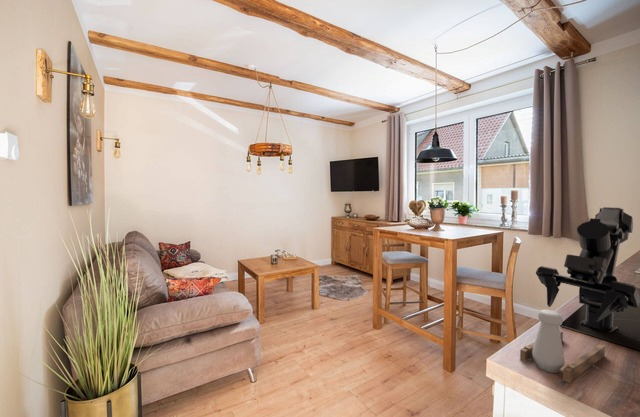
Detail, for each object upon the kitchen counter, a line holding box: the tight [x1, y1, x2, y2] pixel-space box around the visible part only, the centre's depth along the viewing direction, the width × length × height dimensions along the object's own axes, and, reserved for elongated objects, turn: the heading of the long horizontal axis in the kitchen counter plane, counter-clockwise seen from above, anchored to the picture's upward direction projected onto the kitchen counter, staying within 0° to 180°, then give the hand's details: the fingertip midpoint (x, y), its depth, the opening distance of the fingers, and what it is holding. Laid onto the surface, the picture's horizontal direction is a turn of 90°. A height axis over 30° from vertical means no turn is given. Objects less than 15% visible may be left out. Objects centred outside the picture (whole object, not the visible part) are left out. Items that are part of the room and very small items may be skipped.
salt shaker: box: [532, 309, 566, 374], centre depth 63 cm, size 6×6×13 cm
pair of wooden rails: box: [519, 329, 606, 383], centre depth 67 cm, size 20×9×3 cm, turn 119°
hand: (571, 312), depth 68 cm, fingers open, 9 cm apart
